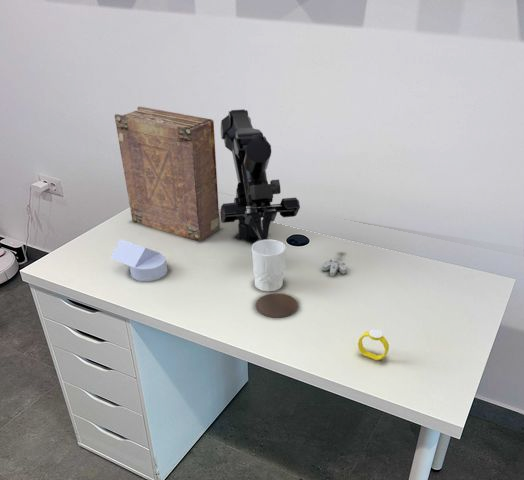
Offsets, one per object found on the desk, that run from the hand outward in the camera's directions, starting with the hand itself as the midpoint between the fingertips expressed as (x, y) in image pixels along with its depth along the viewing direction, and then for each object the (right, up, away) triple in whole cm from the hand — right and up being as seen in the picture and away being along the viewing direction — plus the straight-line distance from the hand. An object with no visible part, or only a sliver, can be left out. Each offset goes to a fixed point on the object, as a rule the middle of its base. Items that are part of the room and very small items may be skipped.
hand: (264, 244), depth 128 cm
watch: (+21, -27, -20) cm, 40 cm away
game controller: (+19, -4, +8) cm, 21 cm away
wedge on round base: (-31, -5, +8) cm, 32 cm away
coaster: (+3, -15, -6) cm, 17 cm away
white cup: (+1, -10, +2) cm, 10 cm away
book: (-26, +11, +28) cm, 39 cm away
